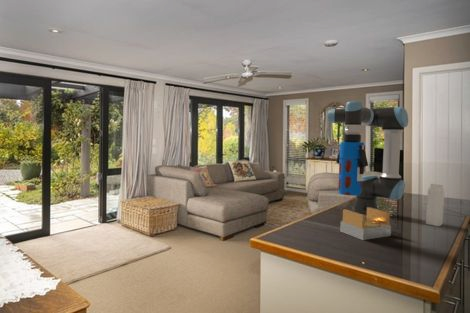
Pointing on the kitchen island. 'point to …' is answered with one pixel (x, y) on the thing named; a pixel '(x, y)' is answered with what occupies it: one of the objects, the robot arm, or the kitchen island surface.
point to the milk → (435, 205)
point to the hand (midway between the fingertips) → (350, 179)
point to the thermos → (349, 169)
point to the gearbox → (366, 224)
